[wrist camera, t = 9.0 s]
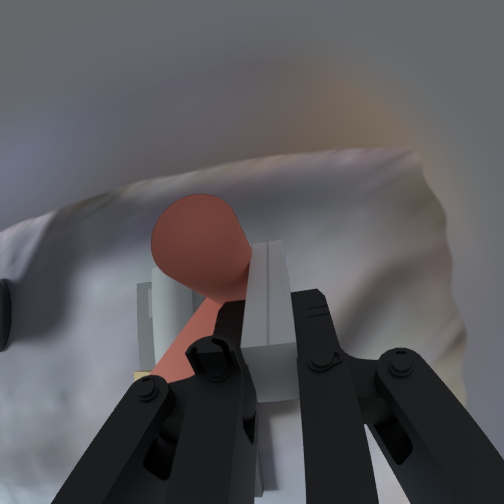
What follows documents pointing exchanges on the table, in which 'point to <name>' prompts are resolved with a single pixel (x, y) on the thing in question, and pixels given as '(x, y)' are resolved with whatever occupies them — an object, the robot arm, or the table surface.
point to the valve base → (151, 355)
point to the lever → (200, 267)
